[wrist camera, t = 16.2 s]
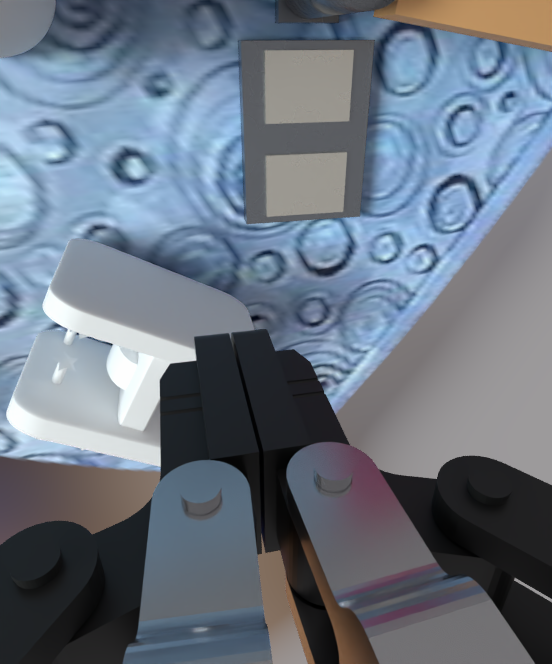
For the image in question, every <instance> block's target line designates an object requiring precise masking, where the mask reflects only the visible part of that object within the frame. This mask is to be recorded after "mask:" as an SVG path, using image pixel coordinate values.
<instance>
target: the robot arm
mask: <svg viewBox="0 0 552 664" xmlns="http://www.w3.org/2000/svg"><path fill="white" fill-rule="evenodd" d="M194 345H195V355H196V361H188V362H180V363H171V364H170V365H169V366H168V368H167V369H166V371H165V372H164V374H163V375H162V377H161V379H160V453H161V476H160V482H159V484H158V485H157V487H156V489H155V491H154V493H153V497H152V498H151V499H150V501H149V502H148V503H147V504H146V505H145V506H144V507H143V508H142V509H141V510H139V511H138V512H137V513H135V514H134V515H132V516H131V517H129V518H128V519H126V520H124V521H122V522H120V523H118V524H115V525H113V526H111V527H109V528H106V529H104V530H102V531H100V532H98V533H95V534H93V535H92V534H91V533H90V532H89V531H88V530H87V529H86V528H84V527H83V526H81V525H79V524H76V523H73V522H68V521H52V522H45V523H41V524H37V525H34V526H32V527H29V528H27V529H24V530H23V531H21V532H19V533H17V534H15V535H14V536H12V537H11V538H9V539H8V540H6V542H4V543H3V544H1V545H0V664H273V663H272V654H271V646H270V639H269V632H268V627H267V624H266V623H265V618H264V610H263V601H262V592H261V583H260V574H259V565H258V556H257V555H258V554H262V544H261V534H262V538H263V543H264V547H265V552H266V553H267V552H273V551H278V550H280V551H281V555H282V559H283V563H284V567H285V591H286V596H287V600H288V603H289V606H290V609H291V612H292V616H293V619H294V622H295V625H296V628H297V631H298V634H299V638H300V641H301V644H302V647H303V650H304V653H305V656H306V659H307V662H308V664H552V603H551V602H550V601H548V600H547V599H545V598H543V597H541V596H540V595H538V594H536V593H534V592H533V591H531V590H530V589H528V588H526V587H524V586H523V585H521V584H519V583H518V582H516V581H514V578H517V579H518V580H520V581H522V582H524V583H525V584H527V585H529V586H530V587H532V588H534V589H536V590H537V591H539V592H541V593H543V594H544V595H546V596H548V597H550V598H551V599H552V485H550V484H548V483H545V482H543V481H541V480H539V479H537V478H535V477H533V476H530V475H528V474H526V473H524V472H522V471H520V470H517V469H515V468H513V467H511V466H508V465H507V464H504V463H502V462H499V461H497V460H494V459H490V458H487V457H481V456H462V457H457V458H455V459H452V460H450V461H449V462H447V463H445V464H444V465H443V466H442V467H441V469H440V471H439V473H438V477H437V479H430V478H422V477H412V476H402V475H395V474H391V473H388V472H384V471H382V470H379V469H378V468H377V466H376V465H375V463H374V462H373V461H372V459H371V458H370V457H369V456H367V455H366V454H365V453H364V452H362V451H361V450H359V449H357V448H355V447H352V446H350V444H349V442H348V440H347V438H346V436H345V434H344V432H343V430H342V428H341V426H340V423H339V422H338V419H337V417H336V415H335V413H334V411H333V409H332V407H331V405H330V403H329V401H328V398H327V396H326V394H324V390H323V388H322V386H321V384H320V382H319V381H318V378H317V376H316V373H315V371H314V369H313V367H312V365H311V363H310V362H309V361H308V360H307V359H306V358H304V357H303V356H302V355H300V354H299V353H298V352H296V351H295V350H294V349H293V350H284V351H275V349H274V347H273V344H272V342H271V339H270V336H269V334H268V331H267V330H266V329H260V330H251V331H241V332H232V333H231V338H230V335H229V333H223V334H214V335H204V336H195V337H194Z"/></svg>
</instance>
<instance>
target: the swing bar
mask: <svg viewBox="0 0 552 664" xmlns="http://www.w3.org/2000/svg"><path fill="white" fill-rule="evenodd" d="M373 17H378V18H383V19H388V20H393V21H398V22H403V23H408V24H413V25H419V26H424V27H429V28H434V29H439V30H444V31H449V32H454V33H459V34H464V35H469V36H474V37H479V38H485V39H490V40H495V41H500V42H505V43H510V44H515V45H520V46H525V47H530V48H535V49H540V50H545V51H550V52H552V0H395V1H394V2H392V3H391V4H389V5H388V6H386V7H384V8H381V9H377V10H375V11H374V16H373Z"/></svg>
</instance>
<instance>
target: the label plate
mask: <svg viewBox="0 0 552 664" xmlns="http://www.w3.org/2000/svg"><path fill="white" fill-rule="evenodd" d="M238 50H239V79H240V107H241V136H242V164H243V193H244V219H245V221H246V223H247V224H255V223H269V222H284V221H299V220H314V219H328V218H343V217H358V216H360V207H361V195H362V183H363V171H364V159H365V147H366V135H367V123H368V111H369V99H370V87H371V75H372V63H373V51H374V40H270V41H238Z"/></svg>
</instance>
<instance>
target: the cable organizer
mask: <svg viewBox="0 0 552 664" xmlns="http://www.w3.org/2000/svg"><path fill="white" fill-rule="evenodd" d="M43 310H44V312H45V313H46V314H47V316H49V317H50V318H51V319H52V320H53V321H55V322H56V323H58V324H60V325H61V326H63V327H65V328H67V329H68V330H67V332H65V331H60V330H45V331H42V332H40V333H38V334H37V336H36V338H35V341H34V343H33V346H32V348H31V351H30V353H29V356H28V358H27V361H26V363H25V366H24V368H23V371H22V373H21V376H20V378H19V381H18V383H17V386H16V388H15V391H14V393H13V396H12V399H11V401H10V404H9V407H8V409H7V413H6V414H7V419H8V421H9V422H10V423H11V425H13V426H14V427H15V428H16V429H18V430H19V431H21V432H23V433H24V434H26V435H29V436H31V437H34V438H36V439H40V440H44V441H50V442H55V443H59V444H63V445H68V446H72V447H77V448H81V450H83V449H85V450H90V451H94V452H97V453H103V454H107V455H111V456H116V457H120V458H125V459H129V460H133V461H138V462H142V463H146V464H151V465H155V466H160V467H161V453H160V379H161V377H162V375H163V374H164V372H165V371H166V369H167V368H168V366H169V365H170V364H171V363H180V362H188V361H196V355H195V345H194V337H195V336H204V335H214V334H223V333H229V335H230V338H231V333H232V332H241V331H251V330H255V329H254V326H253V323H252V320H251V317H250V314H249V311H248V309H247V308H246V306H245V305H244V304H243V303H241V302H240V301H239V300H237V299H236V298H234V297H233V296H231V295H229V294H227V293H225V292H223V291H220V290H218V289H215V288H213V287H210V286H208V285H205V284H203V283H200V282H198V281H195V280H193V279H190V278H188V277H185V276H183V275H180V274H177V273H175V272H172V271H170V270H167V269H165V268H162V267H160V266H157V265H155V264H152V263H150V262H147V261H145V260H142V259H139V258H137V257H134V256H132V255H129V254H127V253H124V252H122V251H119V250H117V249H114V248H112V247H109V246H107V245H104V244H101V243H98V242H95V241H91V240H87V239H79V238H76V239H71V240H69V242H68V244H67V246H66V249H65V251H64V253H63V256H62V258H61V260H60V263H59V265H58V267H57V270H56V272H55V274H54V277H53V279H52V281H51V284H50V286H49V289H48V291H47V294H46V297H45V300H44V302H43ZM77 333H79V335H76V334H77ZM86 337H92V338H95V339H97V340H100V341H102V342H103V341H105V342H109V343H112V344H113V346H111V345H108V344H105V343H102V342H99V341H95V340H92V339H89V338H86Z"/></svg>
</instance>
